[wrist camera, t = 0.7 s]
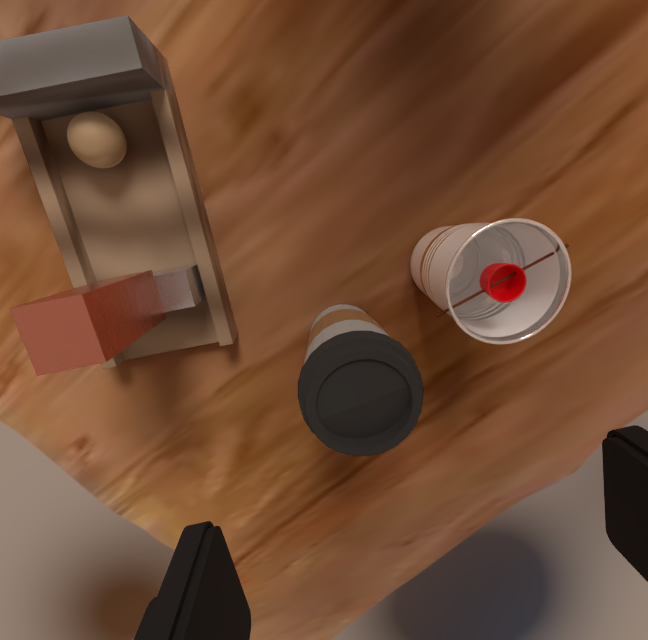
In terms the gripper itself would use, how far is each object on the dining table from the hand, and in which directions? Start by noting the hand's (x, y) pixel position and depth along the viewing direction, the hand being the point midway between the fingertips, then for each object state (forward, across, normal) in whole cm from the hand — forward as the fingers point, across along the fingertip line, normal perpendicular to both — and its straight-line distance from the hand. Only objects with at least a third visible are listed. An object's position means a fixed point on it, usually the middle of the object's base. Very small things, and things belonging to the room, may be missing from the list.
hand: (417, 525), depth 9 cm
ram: (+28, +16, -4) cm, 32 cm away
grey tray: (+29, +16, -10) cm, 35 cm away
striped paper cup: (+29, -11, 0) cm, 31 cm away
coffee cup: (+29, 0, +4) cm, 30 cm away
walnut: (+28, +15, -17) cm, 36 cm away
